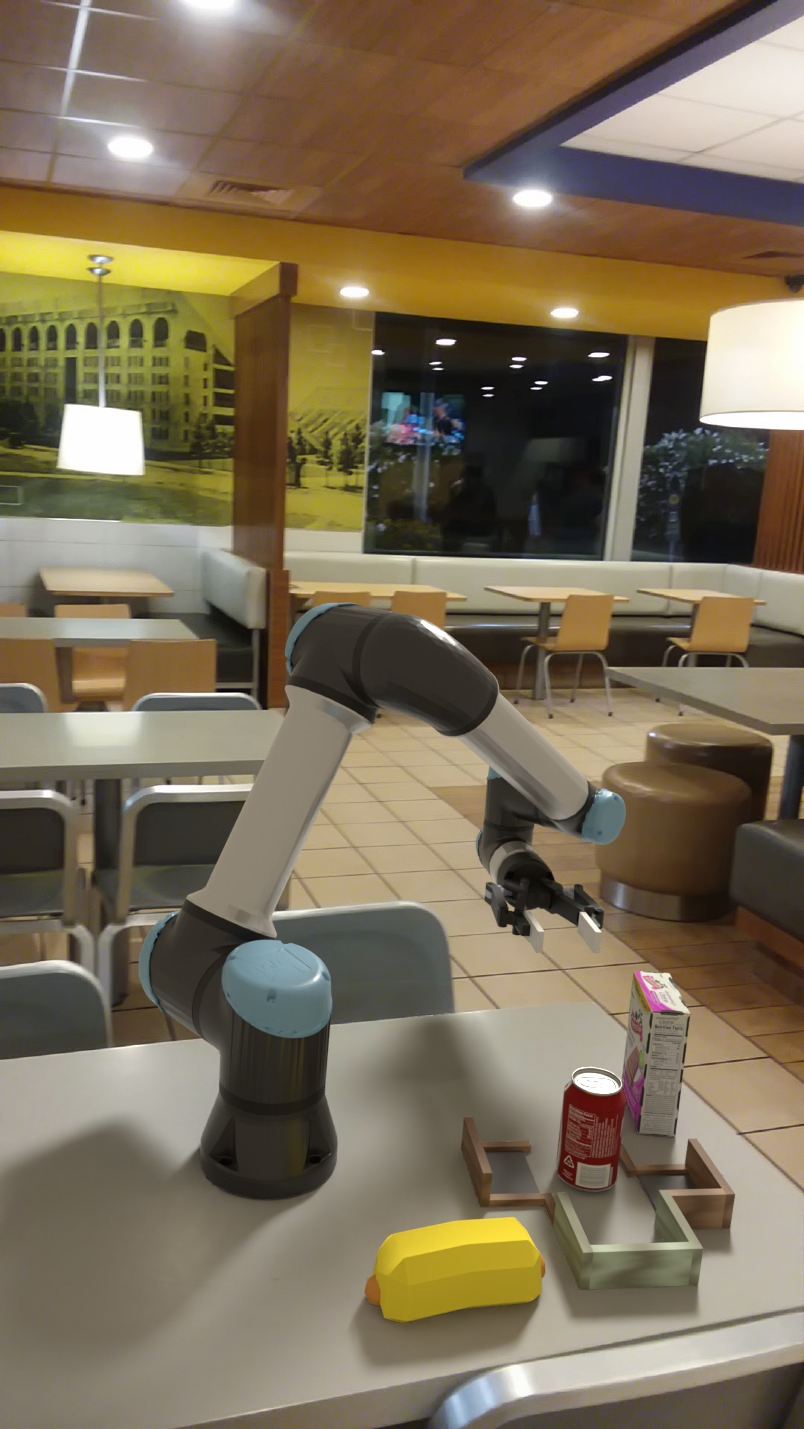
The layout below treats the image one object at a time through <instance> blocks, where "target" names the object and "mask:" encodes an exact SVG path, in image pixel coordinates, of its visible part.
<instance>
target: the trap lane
mask: <svg viewBox="0 0 804 1429" xmlns="http://www.w3.org/2000/svg"><path fill="white" fill-rule="evenodd" d="M460 1149H461V1153H462V1156H463V1160H464V1162H465V1165H466V1168H467V1172H468V1175H469V1178H470V1181H471V1183H472V1187H473V1190H474V1193H475V1196H476V1199H477V1202H478V1205H479V1208H497V1207H498V1208H501V1207H503V1208H505V1207H535V1206H544V1209H545V1211H546V1214H547V1217H548V1218H549V1221H550V1223H551V1226H552V1228H553V1230H554V1233H555V1235H556V1238H557V1240H558V1243H559V1246H560V1247H561V1250H562V1252H563V1255H564V1256H565V1259H566V1261H567V1262H566V1263H567V1264H568V1266H569V1269H570V1272H571V1274H572V1276H573V1278H574V1280H575V1284H576V1285H577V1288H578V1290H583V1291H584V1290H604V1289H606V1290H609V1289H630V1288H634V1289H635V1288H654V1287H655V1288H656V1287H678V1286H679V1287H680V1286H683V1287H684V1286H698V1285H699V1281H700V1275H701V1266H702V1261H703V1255H704V1254H703V1252H704V1248H703V1246H702V1244H701V1243H700V1242H701V1241H699V1239H698V1237H697V1236H696V1234H695V1233H694V1230H713V1229H715V1230H716V1229H717V1230H718V1229H731V1225H732V1218H733V1212H734V1206H735V1205H734V1204H735V1198H736V1193H735V1191H734V1190H733V1189H732V1187H731V1186H730V1184H729V1183H728V1181H727V1180H726V1178H725V1177H724V1176H723V1174H722V1173H721V1172H720V1170H719V1169H718V1167H717V1165H716V1164H715V1163H714V1162H713V1160H712V1159H711V1157H710V1156H709V1154H708V1153H707V1151H706V1150H705V1149H704V1147H703V1146H702V1144H701V1143H700V1142H699V1140H698V1138H688V1139H687V1146H686V1153H685V1160H684V1163H671V1164H670V1163H669V1164H665V1163H664V1164H636V1165H635V1164H634V1162H633V1160H632V1158H631V1156H630V1155H629V1153H628V1151H627V1150H626V1148H625V1146H624V1144H623V1143H622V1141H621V1148H620V1156H619V1163H620V1165H621V1166H622V1169H623V1170H624V1172H625V1174H626V1175H627V1177H628V1178H637V1180H638V1182H639V1183H640V1185H641V1187H642V1189H643V1190H644V1192H645V1195H646V1196H647V1197H648V1199H649V1201H650V1203H651V1204H652V1206H653V1209H654V1210H655V1216H654V1224H653V1225H654V1226H655V1228H656V1229H657V1231H658V1233H659V1235H660V1236H661V1238H662V1241H663V1242H648V1243H647V1242H645V1243H643V1242H641V1243H616V1244H615V1243H613V1244H590V1241H589V1240H588V1237H587V1235H586V1233H585V1231H584V1229H583V1226H582V1224H581V1222H580V1219H579V1218H578V1214H577V1213H576V1210H575V1209H574V1207H573V1204H572V1202H571V1199H570V1197H569V1195H568V1193H567V1192H556V1198H554V1196H553V1193H552V1192H541V1191H540V1190H539V1187H538V1184H537V1181H536V1180H535V1177H534V1175H533V1172H532V1170H531V1168H530V1165H529V1162H528V1161H527V1158H526V1155H525V1154H524V1153H531V1151H532V1145H531V1142H530V1141H529V1140H516V1141H515V1140H513V1141H509V1140H507V1141H502V1140H501V1141H482V1139H481V1137H480V1135H479V1132H478V1129H477V1126H476V1123H475V1121H474V1118H473V1116H463V1122H462V1133H461V1145H460Z"/></svg>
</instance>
